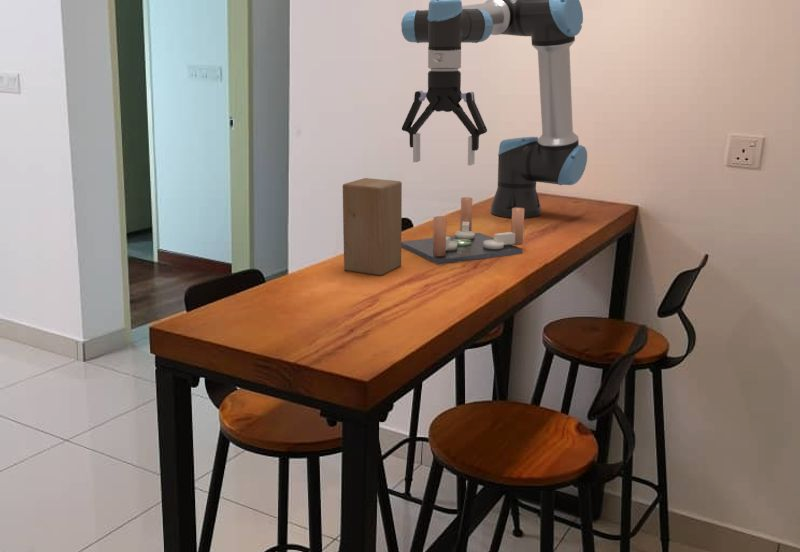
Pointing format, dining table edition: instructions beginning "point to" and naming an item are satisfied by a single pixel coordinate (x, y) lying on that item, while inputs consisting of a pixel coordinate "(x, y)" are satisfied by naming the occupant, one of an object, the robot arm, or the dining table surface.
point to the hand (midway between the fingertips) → (443, 163)
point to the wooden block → (372, 225)
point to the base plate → (460, 249)
